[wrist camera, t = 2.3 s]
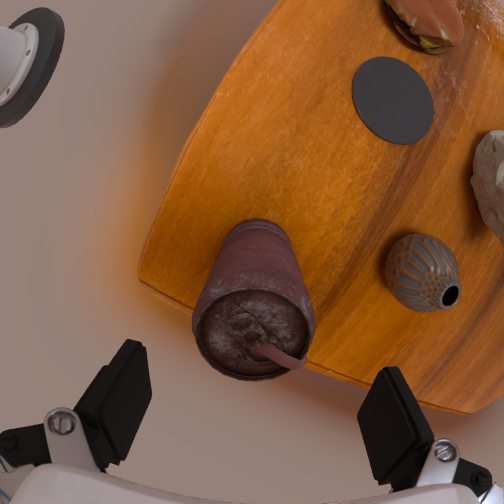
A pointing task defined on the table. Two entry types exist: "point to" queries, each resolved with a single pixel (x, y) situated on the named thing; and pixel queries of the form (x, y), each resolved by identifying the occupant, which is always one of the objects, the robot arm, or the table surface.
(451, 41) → the burger
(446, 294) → the vase
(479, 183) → the stone
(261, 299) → the can
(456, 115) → the table surface
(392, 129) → the coaster
